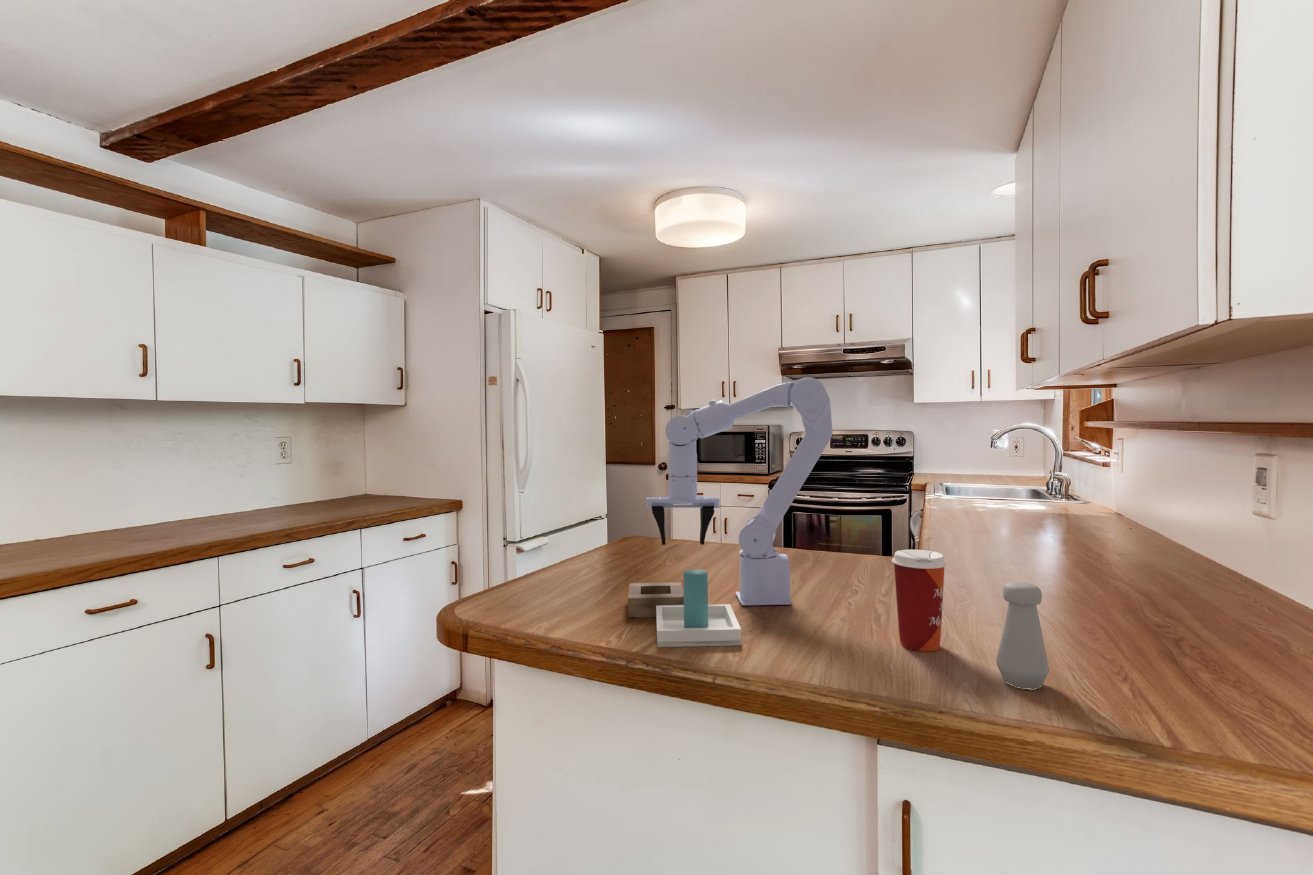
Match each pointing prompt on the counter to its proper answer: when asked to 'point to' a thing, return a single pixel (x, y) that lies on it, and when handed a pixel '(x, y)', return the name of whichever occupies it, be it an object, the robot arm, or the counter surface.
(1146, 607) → the counter surface
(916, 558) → the paper cup
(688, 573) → the dowel
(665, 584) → the socket block
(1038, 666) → the salt shaker
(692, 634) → the tray
